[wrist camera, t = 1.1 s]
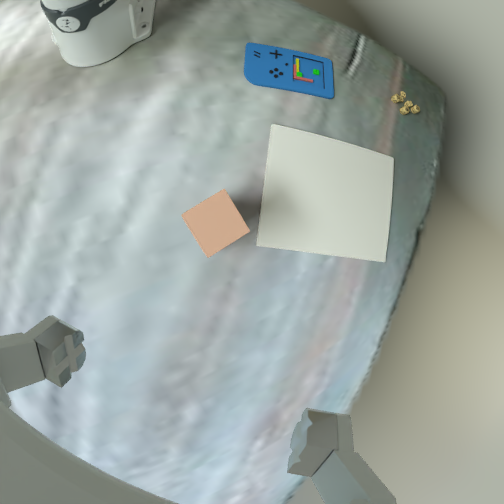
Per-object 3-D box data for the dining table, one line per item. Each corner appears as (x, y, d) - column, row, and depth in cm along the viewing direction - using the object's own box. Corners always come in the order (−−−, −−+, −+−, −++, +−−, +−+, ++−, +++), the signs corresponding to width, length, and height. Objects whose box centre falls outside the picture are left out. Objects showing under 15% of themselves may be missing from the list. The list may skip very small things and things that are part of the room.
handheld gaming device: (247, 41, 40) (332, 58, 43) (245, 44, 41) (330, 61, 44) (243, 81, 40) (334, 98, 43) (242, 84, 41) (332, 100, 44)
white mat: (271, 125, 42) (272, 123, 41) (391, 158, 47) (393, 158, 46) (255, 245, 43) (257, 245, 42) (382, 261, 48) (384, 262, 47)
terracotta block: (183, 219, 41) (181, 214, 29) (214, 200, 41) (224, 188, 30) (202, 250, 42) (207, 257, 30) (232, 230, 42) (250, 231, 30)
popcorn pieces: (415, 113, 48) (421, 110, 47) (400, 120, 48) (406, 118, 46) (402, 91, 48) (408, 88, 46) (387, 97, 47) (393, 94, 45)
